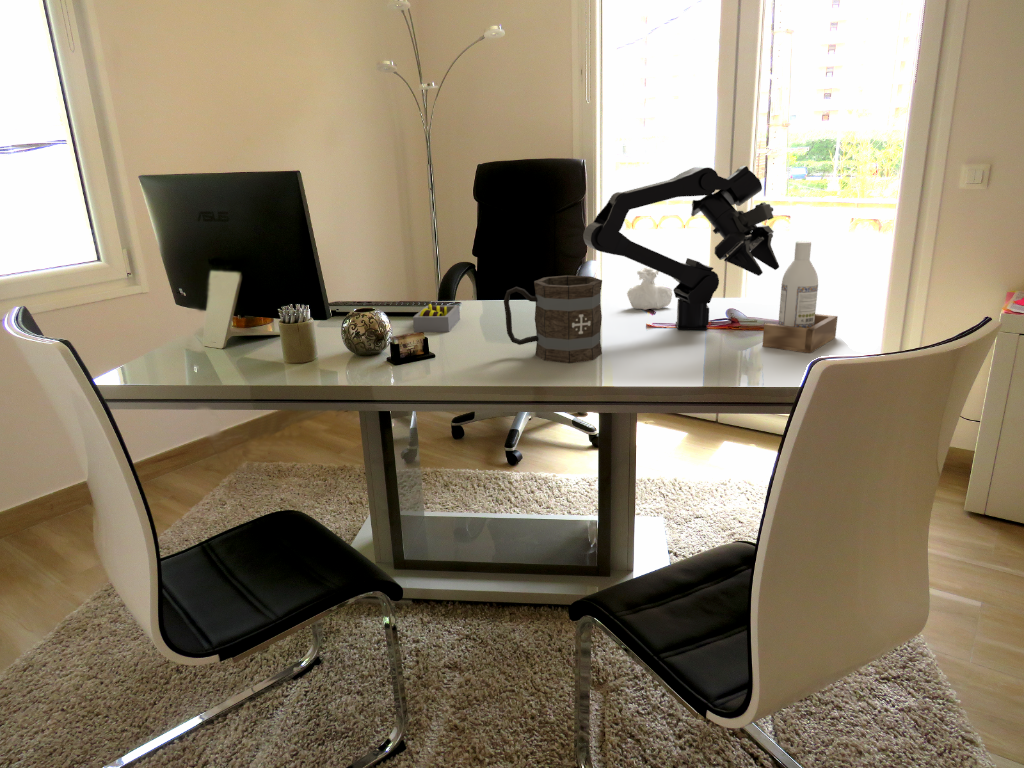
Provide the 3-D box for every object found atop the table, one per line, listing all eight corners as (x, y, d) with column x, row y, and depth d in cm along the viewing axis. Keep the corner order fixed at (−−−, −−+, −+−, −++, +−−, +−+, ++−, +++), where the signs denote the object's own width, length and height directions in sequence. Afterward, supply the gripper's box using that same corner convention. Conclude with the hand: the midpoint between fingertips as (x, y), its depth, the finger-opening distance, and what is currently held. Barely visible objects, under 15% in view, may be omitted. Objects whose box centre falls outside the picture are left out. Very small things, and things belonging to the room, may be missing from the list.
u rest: (762, 346, 149) (764, 324, 148) (789, 331, 160) (791, 311, 159) (810, 353, 143) (812, 330, 142) (835, 337, 154) (837, 316, 153)
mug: (599, 345, 154) (600, 274, 150) (604, 362, 141) (604, 286, 137) (507, 346, 155) (505, 276, 151) (503, 364, 143) (500, 288, 138)
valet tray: (414, 331, 171) (413, 317, 170) (427, 319, 184) (426, 305, 183) (449, 331, 170) (448, 317, 169) (460, 319, 183) (459, 305, 181)
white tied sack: (670, 314, 191) (661, 276, 195) (679, 301, 184) (670, 262, 188) (625, 317, 190) (618, 278, 193) (633, 303, 183) (625, 264, 186)
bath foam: (818, 337, 152) (828, 241, 146) (803, 344, 148) (812, 244, 141) (786, 332, 157) (795, 239, 151) (771, 339, 152) (779, 242, 146)
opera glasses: (441, 331, 171) (440, 310, 170) (419, 331, 172) (418, 310, 171) (449, 322, 181) (448, 302, 179) (429, 322, 181) (427, 302, 180)
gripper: (732, 193, 147) (781, 251, 144) (767, 188, 161) (814, 241, 157) (694, 231, 154) (740, 287, 151) (731, 223, 168) (775, 274, 164)
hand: (769, 271), depth 156 cm, fingers open, 9 cm apart
